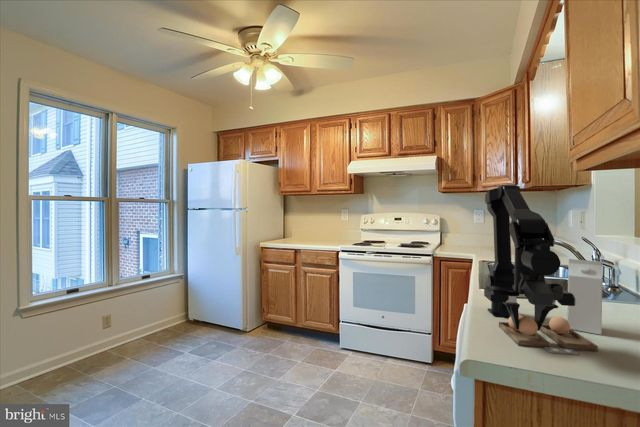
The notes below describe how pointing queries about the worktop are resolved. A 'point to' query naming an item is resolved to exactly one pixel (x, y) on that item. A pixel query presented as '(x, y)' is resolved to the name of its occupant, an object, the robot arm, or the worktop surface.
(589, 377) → the worktop surface
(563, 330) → the ball
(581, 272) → the milk carton
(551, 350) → the card
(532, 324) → the ball
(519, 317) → the ball
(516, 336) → the trough
